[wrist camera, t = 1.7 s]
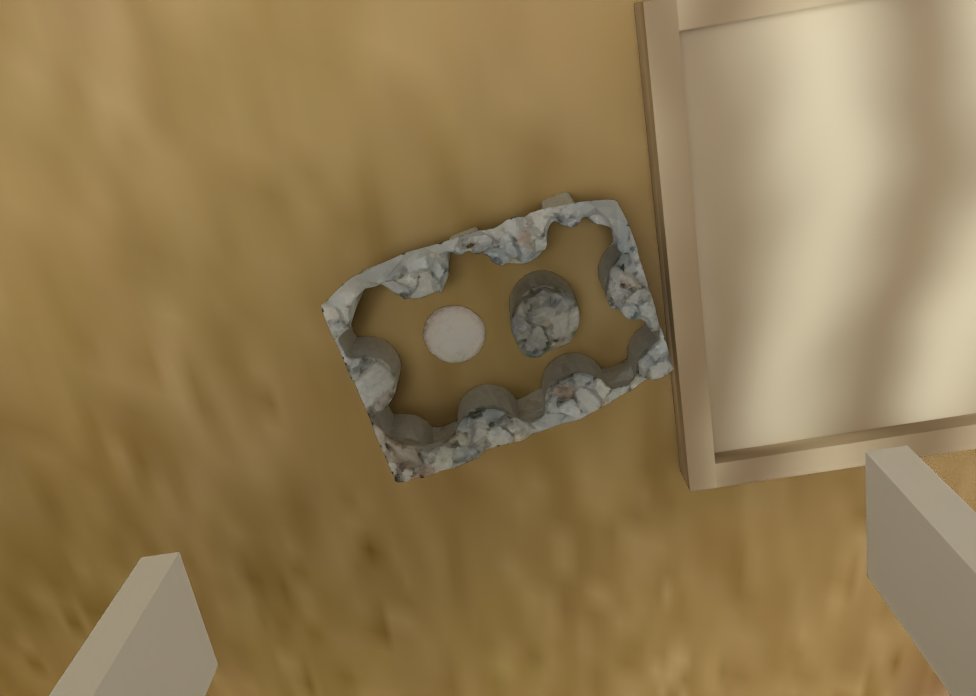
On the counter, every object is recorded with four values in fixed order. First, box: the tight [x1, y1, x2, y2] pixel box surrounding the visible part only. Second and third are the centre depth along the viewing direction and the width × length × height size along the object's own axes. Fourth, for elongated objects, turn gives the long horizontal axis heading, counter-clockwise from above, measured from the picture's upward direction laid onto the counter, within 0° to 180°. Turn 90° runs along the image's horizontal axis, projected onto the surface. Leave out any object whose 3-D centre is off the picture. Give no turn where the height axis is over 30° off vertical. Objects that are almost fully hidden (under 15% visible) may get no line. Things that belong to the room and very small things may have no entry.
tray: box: [634, 0, 976, 492], centre depth 29 cm, size 16×17×2 cm
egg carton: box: [321, 192, 673, 482], centre depth 29 cm, size 11×8×4 cm
